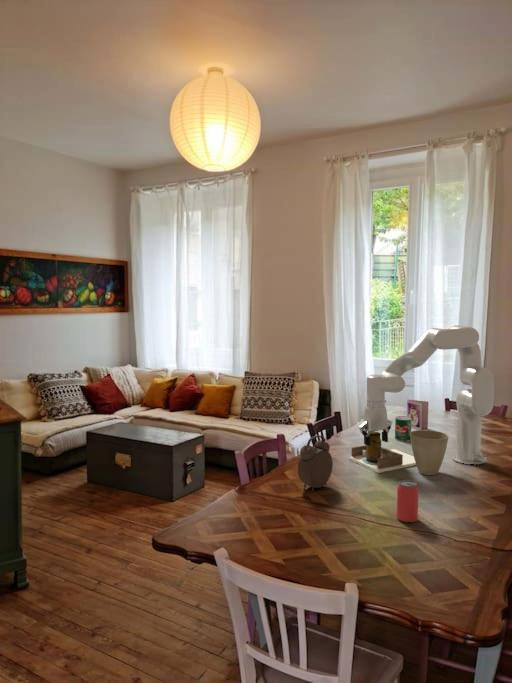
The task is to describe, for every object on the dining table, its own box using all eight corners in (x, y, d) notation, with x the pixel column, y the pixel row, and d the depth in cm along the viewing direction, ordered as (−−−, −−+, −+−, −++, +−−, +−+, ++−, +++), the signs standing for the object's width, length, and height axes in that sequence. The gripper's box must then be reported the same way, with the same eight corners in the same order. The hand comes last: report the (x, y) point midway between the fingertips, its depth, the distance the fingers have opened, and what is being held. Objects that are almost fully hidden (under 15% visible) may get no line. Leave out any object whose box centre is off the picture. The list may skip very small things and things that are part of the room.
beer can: (414, 525, 159) (415, 488, 158) (393, 520, 163) (394, 484, 162) (419, 517, 165) (421, 481, 164) (399, 512, 168) (400, 477, 167)
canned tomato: (409, 437, 258) (409, 416, 257) (412, 441, 251) (413, 420, 250) (393, 436, 259) (394, 415, 258) (396, 441, 251) (396, 419, 250)
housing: (402, 464, 212) (402, 454, 212) (379, 468, 207) (379, 459, 206) (373, 452, 229) (374, 443, 228) (351, 456, 223) (351, 447, 223)
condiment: (377, 457, 222) (377, 430, 221) (386, 463, 214) (387, 435, 213) (361, 458, 220) (362, 431, 219) (370, 464, 212) (371, 436, 211)
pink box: (405, 426, 280) (405, 399, 279) (415, 424, 284) (416, 398, 282) (419, 431, 270) (420, 403, 269) (430, 429, 273) (431, 402, 272)
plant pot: (453, 471, 207) (454, 433, 206) (437, 481, 197) (439, 441, 195) (418, 463, 218) (419, 427, 216) (402, 472, 207) (403, 434, 205)
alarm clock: (318, 480, 198) (319, 430, 196) (333, 485, 193) (334, 434, 191) (294, 490, 188) (294, 437, 186) (309, 495, 183) (310, 441, 181)
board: (424, 463, 218) (425, 454, 217) (377, 473, 206) (378, 463, 206) (394, 451, 235) (394, 442, 234) (349, 459, 223) (349, 450, 223)
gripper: (385, 400, 222) (385, 438, 224) (353, 404, 214) (354, 444, 216) (397, 403, 215) (397, 442, 217) (365, 408, 208) (365, 448, 209)
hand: (376, 443), depth 216 cm, fingers open, 9 cm apart
